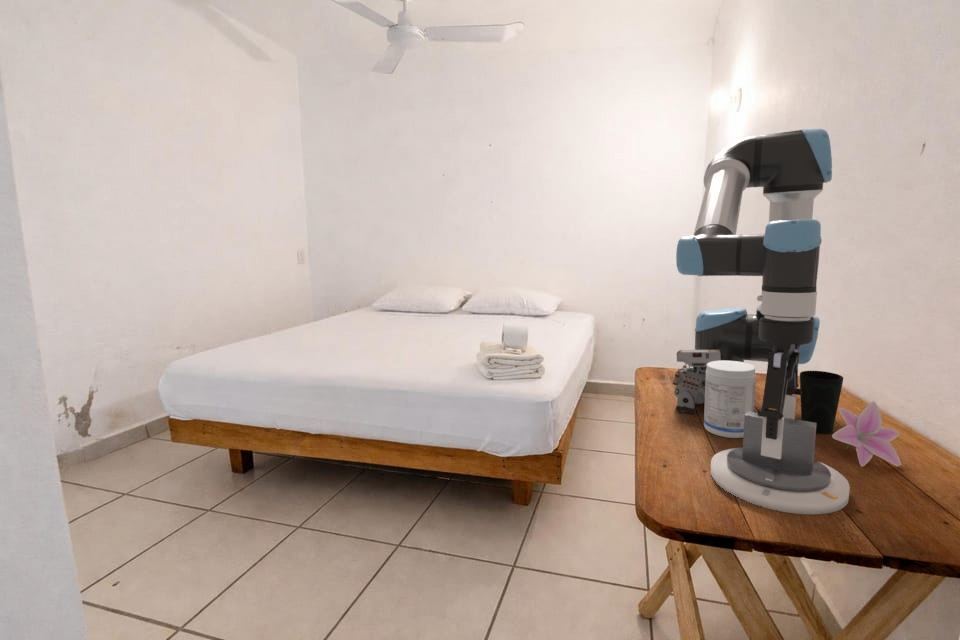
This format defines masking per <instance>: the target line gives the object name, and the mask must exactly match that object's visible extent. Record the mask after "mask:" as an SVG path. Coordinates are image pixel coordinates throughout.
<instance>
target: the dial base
mask: <svg viewBox="0 0 960 640" xmlns="http://www.w3.org/2000/svg"><path fill="white" fill-rule="evenodd" d="M737 448H738V447H735V448H734V447H733V448H728V449H724V450H721V451H719V452H717V453H715V454H714V455H713V456H712V457H711V461H710V476H711V475H712V477H713V479H714V480H715V481H716V483H717V484H718V485H719V486H720V487H721V488H720V487H719V486H718V485H717V484H716V483H715V484H716V485H717V486H718V487H719V488H720V489H722V488H723V489H724V490H725V492H726V491H727V492H726V493H728V492H729V493H731V494H732V495H731V494H730V495H731V496H733V495H734V496H733V497H735V496H736V497H735V498H737V497H739V498H740V499H739V498H738V499H739V500H741V499H743V500H745V501H744V502H746V501H747V502H746V503H749V502H750V503H749V504H751V503H752V505H754V504H755V506H757V505H758V506H757V507H760V506H762V507H761V508H764V509H768V510H772V511H776V510H777V512H782V513H787V514H789V513H790V514H796V515H811V516H812V515H825V514H826V515H827V514H831V513H835V512H838V511H840V510H842V509H844V508H845V507H846V506H847V505H848V503H849V501H850V492H851V491H850V489H851V488H850V483H849V481H848V480H847V478H846V477H845V476H844V475H843V474H842V473H841V472H839V471H837V470H836V469H834V468H833V467H831V466H829V465H827V464H826V463H823V462H820V461H818V460H817V461H818V462H820V463H822V464H823V465H824V466H826V467H827V468H828V469H829V471H830V473H831V481H830V484H829V485H828V486H827V487H826V488H824V489H821V490H818V491H811V492H793V491H784V490H778V489H773V488H769V487H765V486H761V485H758V484H755V483H753V482H750V481H748V480H746V479H743V478H742V477H740V476H738V475H737V474H735V473H734V472H733V471H731V470H730V468H729V467H728V465H727V455H728V453H729V452H730V451H732V450H734V449H737ZM712 477H711V478H712ZM713 479H712V480H713ZM714 480H713V481H714ZM723 489H722V490H723ZM724 490H723V491H724ZM729 493H728V494H729ZM743 500H742V501H743Z"/></svg>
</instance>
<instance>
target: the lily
mask: <svg viewBox="0 0 960 640" xmlns="http://www.w3.org/2000/svg"><path fill="white" fill-rule="evenodd" d="M838 410H839V413H840V415H841V417H842V418H843V420H844V422H845V423H846V425H845V426H842V427H841V428H840V429H837V430H836V431H835V432H834V433H833V434H832V435H831V437H832V438H833V439H834V440H835V441H839V442H841V443H844V444H847V446H846V447H845V450H848V449H849V448H850V447H851V446H854V447H855V449H856V455H857V460H858V462H859V466H860V467H864V466H866V465H867V464H868V463H869V462H870V460H871V459H872V458H873V456H874V455H875V456H877V457H878V458H881V460H884V461H886V462H888V463H889V464H891V465H893V466H895V467H897V466H899V465H903V464H902V463H901V459H900V457H899V455H898V453H897V452H896V449H895V448H894V446H893V445H892V444H891V443H890V442H891V441H893V440H895V439H896V438H898V437H899V436H900V432H899V431H897V430H895V429H892V428H889V427H887V426H883V420H882V415H881V411H880V409H879V406H878V405H877V403H876V402H875V401H871V402H870V403H869V404H867V406H866V407H865V408H864V410H863V411H862V412H861V413H859V415H857V414H855V413H854V412H851V411H850V410H848V409H846V408H843V407H841V406H838Z"/></svg>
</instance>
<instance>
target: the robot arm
mask: <svg viewBox="0 0 960 640" xmlns="http://www.w3.org/2000/svg"><path fill="white" fill-rule="evenodd" d="M831 148H832V146H831V140H830V135H829V133H828V131H826V130H825V129H823V128H813V129H812V128H810V129H803V128H802V129H798V130H797V129H796V130H790V131H784V132H777V133H768V134H762V135H760V134H759V135H751V136H750V135H749V136H746V137H743V138H740V139H739V140H736V141H734V142H732V143H730V144H729V145H727V146H726V147H725V148H723V149H721V150H720V152H718V153H717V154H716V155H715V156H714V157H713V159H711V161H710V162H709V163H708V165H707V167H706V169H705V173H704V174H703V175H704V176H703V186H704V188H705V190H704V194H703V198H702V202H701V204H700V210H699V212H698V216H697V220H696V224H695V228H694V231H693V234H691V235H690V236H688V235H687V236H682V237H681V238H679V239H678V241H677V245H676V251H675V252H676V257H675V259H676V268H677V271H678V273H680V274H681V275H683V276H684V275H685V276H697V277H715V276H716V277H717V276H720V277H722V276H723V277H725V276H727V277H728V276H739V277H762V282H761V283H762V285H761V295H758V296H757V297H756V300H757V302H761V303H760V304H759V305H758V306H757V307H756V313H755V314H748V311H747V309H746V308H744V307H724V308H715V309H710V310H709V309H708V310H704V311H701V312H700V313H699V314H697V316H696V320H695V328H694V332H695V334H694V335H695V336H694V339H695V340H694V350H715V349H716V350H720V354H721V355H722V356H723V358H722V359H721V360H726V361H738V362H744V363H745V361H752V362H763V363H765V362H767V369H766V374H765V375H766V377H765V383H764V391H763V398H762V405H761V410H757V413H758V416H762V417H763V427H762V443H761V455H763V456H767V457H772V458H776V459H781V454H782V439H783V425H784V418H790V419H795V418H796V401H797V396H800V395H801V389H800V388H798V387H800V383H799V365H805V364H807V363H809V362H810V361H811V359H812V357H813V354H814V352H815V349H816V345H817V340H818V337H819V336H818V335H819V329H820V325H821V324H820V321H821V320H820V318H819V317H817V316H815V315H816V312H817V311H816V308H817V296H818V291H817V281H818V274H819V273H818V272H819V264H820V263H819V262H820V261H819V260H820V251H821V250H820V249H821V244H822V241H823V239H822V237H821V235H822V233H821V230H822V229H821V223H820V221H818V219H813V215H814V214H813V213H814V204H815V203H814V202H815V201H814V200H815V199H816V198H817V196H819V195H820V193H823V190H824V189H823V188H824V183H825V184H827V183H829V182H831V181H832V177H833V161H832V160H833V158H832V149H831ZM748 188H762V196H763V197H765V198H766V199H767V200H768V201H769V213H768V223H766V226H765V229H764V233H757V234H756V233H754V234H753V233H750V234H737V230H738V223H739V217H740V211H741V206H742V205H741V204H742V199H743V192H744V191H745V190H746V189H748ZM706 369H707V367H704V368H703V371H705V372H706ZM783 417H784V418H783Z"/></svg>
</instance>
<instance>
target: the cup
mask: <svg viewBox="0 0 960 640" xmlns="http://www.w3.org/2000/svg"><path fill="white" fill-rule="evenodd" d="M843 382H844V376H842V375H841V374H838V373H834V372H830V371H824V370H823V371H822V370H804V371H800V372H799V389H801V395H799V396H800V415H801V418H800V420H802V421H808V422H814V423H817V424H816V434H819V435H821V434H822V435H830V434H832V433H833V432H834V426H835V422H836V417H837V414H838V413H837V412H838V409H839V403H840V399H841V398H840V397H841V393H842V388H843Z"/></svg>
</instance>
